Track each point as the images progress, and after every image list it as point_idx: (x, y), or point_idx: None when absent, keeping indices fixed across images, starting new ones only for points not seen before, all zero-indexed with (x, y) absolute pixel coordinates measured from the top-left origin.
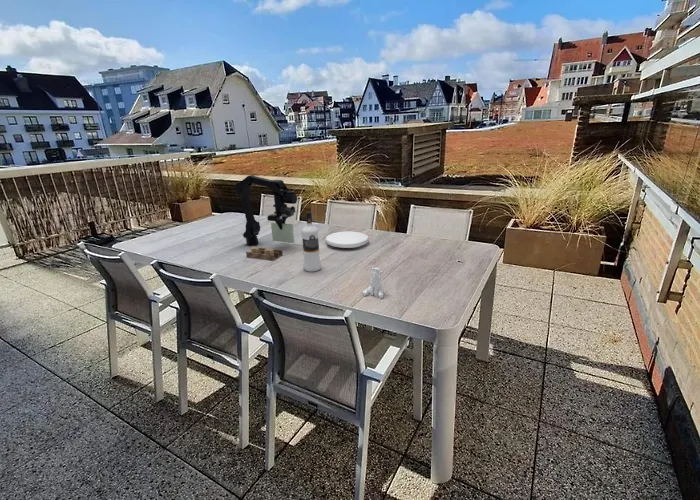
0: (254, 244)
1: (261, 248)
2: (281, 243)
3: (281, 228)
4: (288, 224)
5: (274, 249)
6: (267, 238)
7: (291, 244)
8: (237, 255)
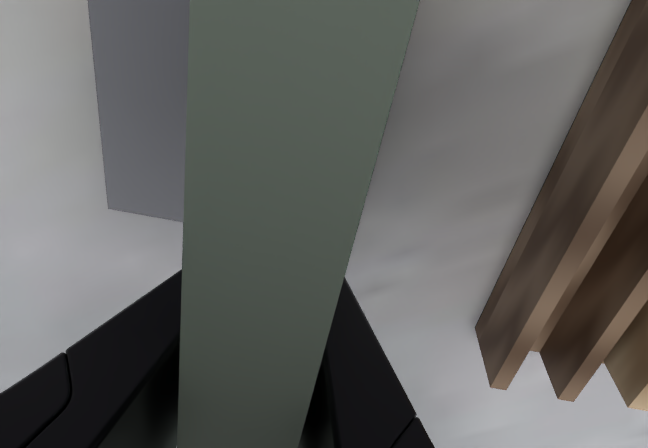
0: None
1: (544, 322)
2: (125, 193)
3: (354, 296)
4: (317, 75)
5: (631, 148)
6: (31, 370)
7: (108, 41)
8: (521, 436)
